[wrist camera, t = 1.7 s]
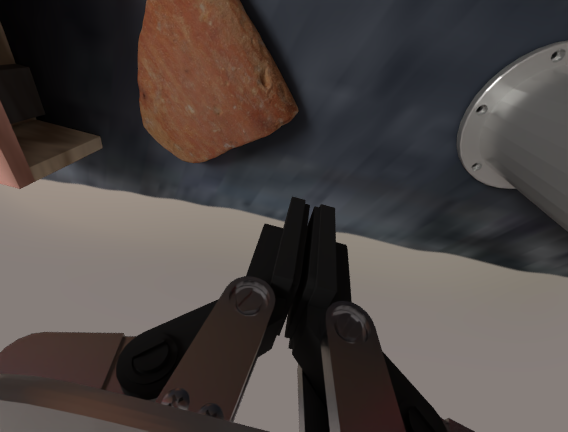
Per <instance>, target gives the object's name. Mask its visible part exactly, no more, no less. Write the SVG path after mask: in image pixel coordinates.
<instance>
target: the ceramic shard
mask: <svg viewBox="0 0 568 432" xmlns="http://www.w3.org/2000/svg"><path fill="white" fill-rule="evenodd" d="M137 81H138V85H139V91H140V98H139V103H140V112H141V116H142V121H143V126H144V128H146V130H147V131H148V132H149V133H150V134H151V135H152V136H153V138H154V139H155V140H156V141H157V142H158V143H160V144H161V145H162V146H163V147H164V148H165V149H167V150H168V151H170V152H171V153H172V154H174V155H175V156H176V157H178V158H180V159H181V160H182V161H186V162H191V163H200V162H205V161H208V160H210V159H212V158H215V157H217V156H219V155H221V154H224V153H225V152H227V151H228V150H230V149H232V148H236V147H239V146H242V145H244V144H247V143H249V142H252V141H255V140H257V139H260V138H263V137H266V136H268V135H270V134H271V133H273V132H274V131H276V130H277V129H278V128H280V127H281V126H282V125H284V124H286V123H288V122H290V121H291V120H292V119H293V118H294V117H295V115H296V114H297V113H298V107H297V105H296V103H295V101H294V99H293V97H292V95H291V93H290V91H289V89H288V87H287V85H286V83H285V81H284V79H283V77H282V75H281V73H280V71H279V69H278V67H277V66H276V64H275V62H274V60H273V58H272V56H271V55H270V53H269V51H268V50H267V48H266V46H265V44H264V43H263V41H262V39H261V36H260V34H259V33H258V31H257V29H256V28H255V26H254V25H253V23H252V21H251V20H250V18H249V17H248V15H247V14H246V12H245V10H244V7H243V5H242V3H241V1H240V0H147V1H146V7H145V15H144V19H143V27H142V30H141V33H140V35H139V42H138V79H137Z"/></svg>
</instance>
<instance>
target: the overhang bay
mask: <svg viewBox="0 0 568 432" xmlns="http://www.w3.org/2000/svg"><path fill="white" fill-rule="evenodd" d="M42 115H45V111H44V109H43V106H42V103H41V100H40V97H39V94H38V91H37V88H36V85H35V82H34V79H33V77H32V74H31V71H30V68H29V67H27V66H23V65H19V64H16V63H15V60H14V57H13V55H12V52H11V49H10V47H9V44H8V41H7V38H6V36H5V33H4V30H3V28H2V25H1V22H0V184H4V185H7V186H11V187H15V188H19V189H21V188H23V187H25V186H27V185H29V184H31V183H33V182H35V181H37V180H39V179H41V178H43V177H45V176H47V175H49V174H51V173H53V172H55V171H57V170H59V169H61V168H63V167H65V166H67V165H69V164H71V163H74V162H76V161H78V160H80V159H82V158H84V157H86V156H88V155H90V154H92V153H94V152H96V151H98V150H100V149H102V148H103V147H102V142H101V138H100V136H97V135H93V134H89V133H85V132H81V131H78V130H74V129H70V128H66V127H63V126H59V125H55V124H51V123H47V122H44V121H40V120H36V117H38V116H42Z"/></svg>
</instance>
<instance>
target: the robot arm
mask: <svg viewBox="0 0 568 432" xmlns="http://www.w3.org/2000/svg"><path fill="white" fill-rule="evenodd" d="M552 54H553V56H552ZM551 56H552V57H551ZM479 106H480V109H479V110H477V109H478V107H479ZM476 110H477V111H476ZM457 151H458V156H459V159H460V161H461V163H462V165H463V167H464V168H465V169H466V170H467V171H468V172H469V173H470V174H471V175H472V176H473V177H474V178H475V179H477V180H478V181H480V182H482V183H484V184H486V185H489V186H493V187H497V188H506V189H517V190H518V191H519V192H521V193H522V194H523V195H524V196H525V197H527V198H528V199H529V200H530V201H531V202H533V203H534V204H535V205H536V206H537V207H538V208H540V209H541V210H542V211H543V212H544V213H546V214H547V215H548V216H549V217H550V218H552V219H553V220H554V221H555V222H556V223H558V224H559V225H560V226H561V227H562V228H564V229H565V230H566V231H567V232H568V40H567V41H561V42H556V43H553V44H550V45H547V46H544V47H541V48H538V49H536V50H534V51H532V52H530V53H528V54H526V55H524V56H522V57H520V58H518V59H517V60H515V61H514V62H512V63H511V64H509V65H508V66H506V67H505V68H504V69H502V70H501V71H500V72H499V73H498V74H496V75H495V76H494V77H493V78H492V79H491V80H489V81H488V82H487V83H486V85H485V86H484V87H483V88H482V89H481V90H480V91H479V92H478V94H477V95H476V96H475V97H474V99H473V100H472V102H471V103H470V105H469V106H468V108H467V110H466V112H465V114H464V116H463V118H462V120H461V122H460V126H459V130H458V134H457ZM309 208H310V205H308V204H305V200H303V199H299V198H296V197H292V198H291V202H290V206H289V209H288V213H287V217H286V220H285V224H284V228H280V227H276V226H272V225H269V224H264V227H263V229H262V232H261V235H260V238H259V241H258V244H257V246H256V249H255V252H254V255H253V258H252V260H251V264H250V266H249V269H248V272H247V275H246V276H244V277H241V278H237V279H235V280H234V281H232V282H231V283H230V284H229V285H228V286H227V287H226V289H225V290H224V292H223V293H222V295H221V297H220V298H219V299H218V300H216V301H214V302H211V303H209V304H207V305H205V306H202V307H200V308H198V309H196V310H193V311H191V312H189V313H186V314H184V315H182V316H180V317H177V318H175V319H173V320H170V321H168V322H166V323H164V324H161V325H159V326H157V327H155V328H152V329H150V330H148V331H146V332H143V333H142V334H140V335H138V336H125V335H124V333H85V332H83V333H82V332H40V333H33V334H30V335H27V336H25V337H22V338H19V339H17V340H16V341H14V342H13V343H12V344H10V345H9V346H7V347H5V348H4V349H3V350H2V351H1V352H0V432H268V431H264V430H261V429H257V428H253V427H249V426H245V425H241V424H237V423H234V422H233V421H234V419H235V416H236V414H237V411H238V409H239V406H240V403H241V401H242V398H243V395H244V392H245V390H246V387H247V385H248V382H249V379H250V377H251V374H252V372H253V369H254V366H255V364H256V361H257V358H258V357H259V356H261V355H262V354H264V353H266V352H267V351H269V350H270V349H272V346H273V343H274V341H275V338H276V336H277V335H278V336H279V335H280V332H281V330H282V327H283V325H284V322H285V320H286V317H287V314H288V317H287V324H286V330H285V337H286V338H290V341H289V348H290V349H293V350H292V355H293V356H294V358H295V359H296V361H297V362H298V369H297V374H298V404H299V432H474V431H472V430H471V429H469V428H467V427H465V426H463V425H461V424H459V423H457V422H455V421H453V420H452V419H450V418H447V419H445V420H444V419H442V418H440V416H439V415H438V414H437V412H436V411H435V410H434V408H433V407H432V406H431V405H430V404H429V403H428V402H427V400H426V399H425V398H424V397H423V396H422V395H421V394H420V393H419V391H418V390H417V389H416V388H415V387H414V386H413V385H412V384H411V383H410V382H409V380H408V379H407V378H406V377H405V376H404V375H403V374H402V373H401V372H400V371H399V369H398V368H397V367H396V366H395V365H394V364H393V363H392V362H391V360H390V359H389V358H388V357H387V356H386V355H385V354H384V353H383V352H382V349H381V345H380V342H379V339H378V335H377V332H376V328H375V326H374V324H373V321H372V319H371V318H370V316H369V315H368V314H367V312H366V311H364V310H363V309H362V308H361V307H360V306H358V305H356V304H354V303H352V302H351V289H350V276H349V264H348V250H347V246H346V245H344V244H341V243H337V242H336V231H335V208H334V207H330V206H326V205H322V204H321V205H320V207H314V209H313V212H312V215H311V218H310V221H309V223H308V216H309ZM307 224H308V226H307Z"/></svg>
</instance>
